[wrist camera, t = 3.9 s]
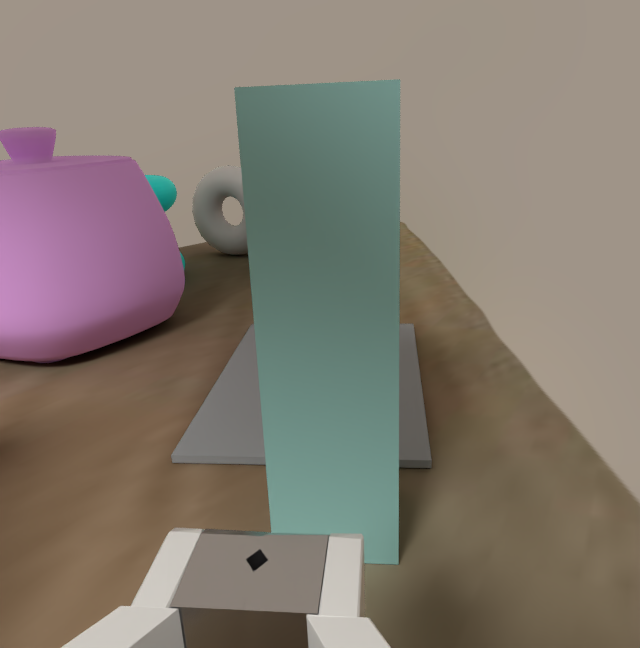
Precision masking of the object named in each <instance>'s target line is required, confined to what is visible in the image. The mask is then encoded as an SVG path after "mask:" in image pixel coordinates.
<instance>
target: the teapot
mask: <svg viewBox="0 0 640 648" xmlns="http://www.w3.org/2000/svg"><path fill="white" fill-rule="evenodd" d="M55 138H56V130H55V129H52V128H46V127H27V128H12V129H6V130H1V131H0V141H1V142H2V144H3V146H4V147H5V149H6V151H7V152H8V154H9V156H10V157H11V160H0V358H1V359H9V360H19V361H33V362H36V363H50V362H56V361H60V360H63V359H66V358H68V357H71V356H75V355H79V354H82V353H85V352H88V351H92V350H95V349H98V348H100V347H103V346H106V345H109V344H111V343H114V342H117V341H119V340H122V339H125V338H127V337H130V336H132V335H135V334H137V333H139V332H142V331H144V330H146V329H148V328H151V327H153V326H155V325H157V324H159V323H161V322H163V321H165V320H167V319H168V318H170V317H171V316H172V315H173V313H174V311H175V309H176V307H177V305H178V303H179V301H180V298H181V296H182V293H183V290H184V285H185V276H184V269H183V263H182V259H181V255H180V251H179V248H178V245H177V242H176V238H175V235H174V233H173V230H172V228H171V225H170V223H169V220H168V218H167V216H166V214H165V212H164V210H163V208H162V206H161V204H160V202H159V200H158V198H157V197H156V195H155V193H154V191H153V189H152V188H151V186H150V184H149V182H148V180H147V179H146V177H145V175H144V174H143V172H142V170H141V169H140V167H139V166H138V164H137V163H136V161H135V160H132V159H131V157H125V156H54V157H53V156H52V155H53V150H54V144H55Z"/></svg>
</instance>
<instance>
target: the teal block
mask: <svg viewBox="0 0 640 648" xmlns="http://www.w3.org/2000/svg"><path fill="white" fill-rule="evenodd" d="M234 89H235V101H236V113H237V125H238V137H239V149H240V160H241V173H242V185H243V197H244V209H245V221H246V233H247V245H248V257H249V269H250V281H251V293H252V305H253V317H254V329H255V341H256V353H257V365H258V377H259V389H260V401H261V413H262V424H263V436H264V448H265V460H266V472H267V484H268V496H269V508H270V520H271V532H272V533H302V534H331V533H351V534H362V535H363V536H364V563H371V564H397V565H399V278H400V80H380V81H360V82H359V81H358V82H338V83H319V84H318V83H317V84H298V85H276V86H257V87H235V88H234Z"/></svg>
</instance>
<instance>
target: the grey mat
mask: <svg viewBox="0 0 640 648" xmlns="http://www.w3.org/2000/svg"><path fill="white" fill-rule="evenodd" d="M171 457H172V463H213V464H260V465H266V460H265V448H264V436H263V424H262V413H261V401H260V389H259V377H258V365H257V353H256V341H255V329H254V324H251V326H250V327H249V329H248V331H247V332H246V334H245V336H244V337H243V339H242V340H241V342H240V344H239V345H238V347H237V349H236V350H235V352H234V354H233V355H232V357H231V358H230V360H229V362H228V363H227V365H226V367H225V368H224V370H223V372H222V373H221V375H220V376H219V378H218V380H217V381H216V383H215V385H214V386H213V388H212V389H211V391H210V393H209V394H208V396H207V398H206V399H205V401H204V403H203V404H202V406H201V407H200V409H199V411H198V412H197V414H196V416H195V417H194V419H193V421H192V422H191V424H190V425H189V427H188V429H187V430H186V432H185V434H184V435H183V437H182V438H181V440H180V442H179V443H178V445H177V447H176V448H175V450H174V452H173V453H172V455H171ZM431 463H432V460H431V452H430V445H429V437H428V430H427V422H426V415H425V407H424V400H423V392H422V385H421V377H420V370H419V362H418V355H417V347H416V340H415V332H414V325H413V324H399V467H403V468H431Z"/></svg>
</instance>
